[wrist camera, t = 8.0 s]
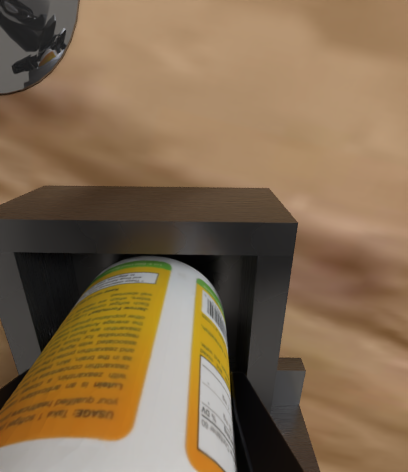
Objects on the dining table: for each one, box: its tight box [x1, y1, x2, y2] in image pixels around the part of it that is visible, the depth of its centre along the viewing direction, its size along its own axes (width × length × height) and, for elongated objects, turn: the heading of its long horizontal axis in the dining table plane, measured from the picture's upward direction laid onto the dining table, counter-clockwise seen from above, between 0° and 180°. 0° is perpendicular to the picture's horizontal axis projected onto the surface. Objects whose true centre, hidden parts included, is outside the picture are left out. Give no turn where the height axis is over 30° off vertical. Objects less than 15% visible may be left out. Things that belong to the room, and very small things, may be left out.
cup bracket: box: [0, 186, 320, 472], centre depth 10 cm, size 12×14×8 cm
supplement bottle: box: [0, 256, 238, 472], centre depth 7 cm, size 5×5×10 cm
